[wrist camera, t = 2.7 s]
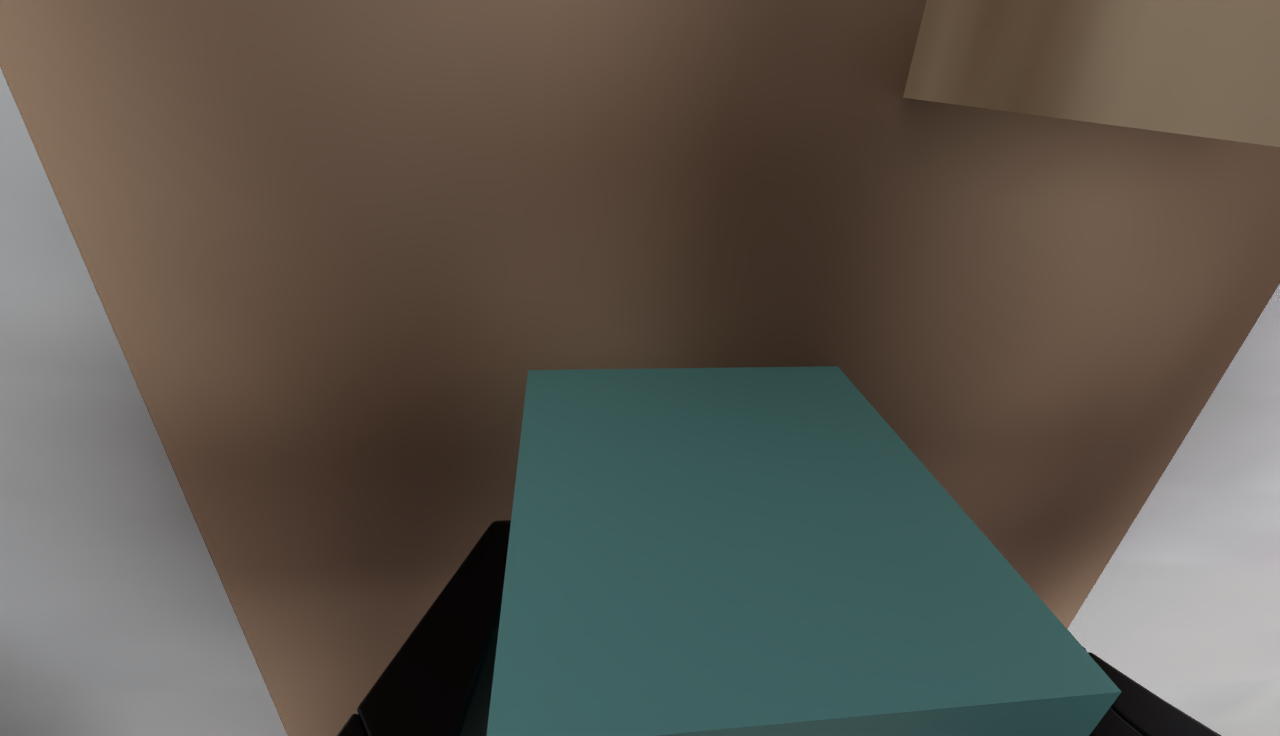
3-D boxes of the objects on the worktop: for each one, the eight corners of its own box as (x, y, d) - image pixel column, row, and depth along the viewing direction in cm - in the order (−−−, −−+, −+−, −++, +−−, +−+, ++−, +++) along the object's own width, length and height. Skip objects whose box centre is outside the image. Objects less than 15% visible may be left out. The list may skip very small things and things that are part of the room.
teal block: (539, 594, 11) (520, 1001, 6) (527, 369, 9) (484, 749, 4) (785, 579, 12) (937, 940, 7) (837, 366, 9) (1121, 690, 5)
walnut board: (357, 813, 16) (343, 865, 15) (-254, -845, 4) (-514, -1129, 3) (942, 752, 19) (965, 794, 17) (1597, -455, 7) (1790, -549, 6)
